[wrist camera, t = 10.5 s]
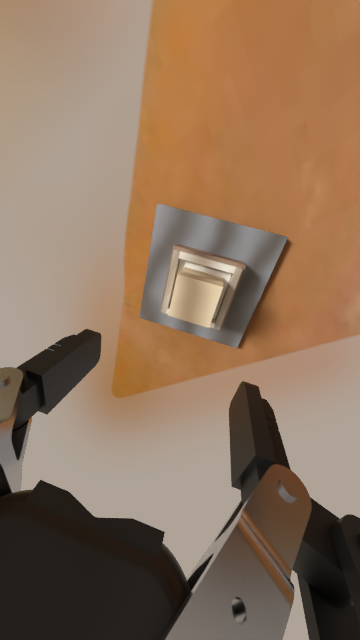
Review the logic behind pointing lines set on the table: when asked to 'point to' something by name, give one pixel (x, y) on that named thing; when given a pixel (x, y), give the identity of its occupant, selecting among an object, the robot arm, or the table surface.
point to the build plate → (208, 269)
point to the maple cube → (195, 296)
